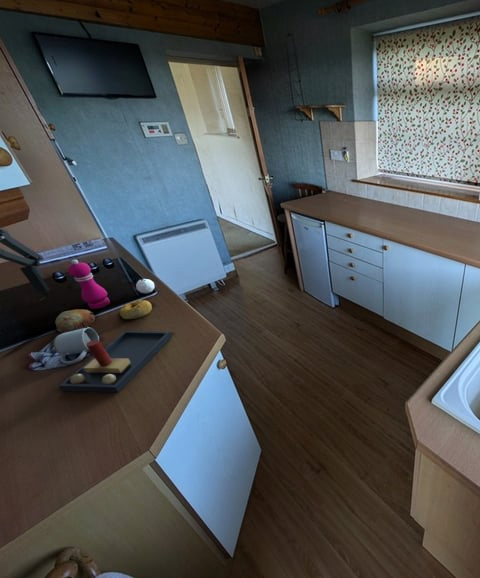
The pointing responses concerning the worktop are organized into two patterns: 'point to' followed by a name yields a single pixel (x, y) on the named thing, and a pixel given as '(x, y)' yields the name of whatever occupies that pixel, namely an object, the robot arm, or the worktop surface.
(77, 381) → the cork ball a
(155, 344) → the tray
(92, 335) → the ceramic mug
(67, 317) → the bread roll
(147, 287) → the white ovoid
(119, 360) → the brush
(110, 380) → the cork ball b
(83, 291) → the pepper mill
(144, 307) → the bagel
